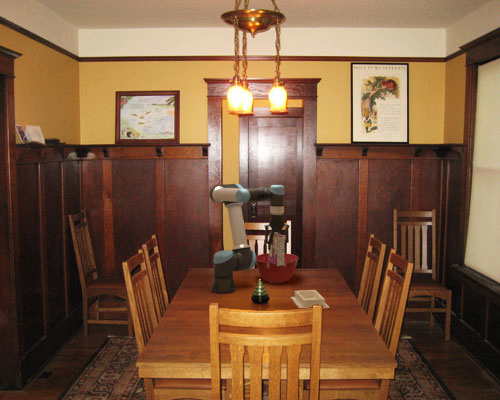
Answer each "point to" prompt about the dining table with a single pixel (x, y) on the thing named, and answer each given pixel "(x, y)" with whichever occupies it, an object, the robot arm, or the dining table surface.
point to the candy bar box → (277, 250)
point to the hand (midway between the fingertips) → (276, 255)
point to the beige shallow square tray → (308, 299)
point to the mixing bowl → (276, 268)
